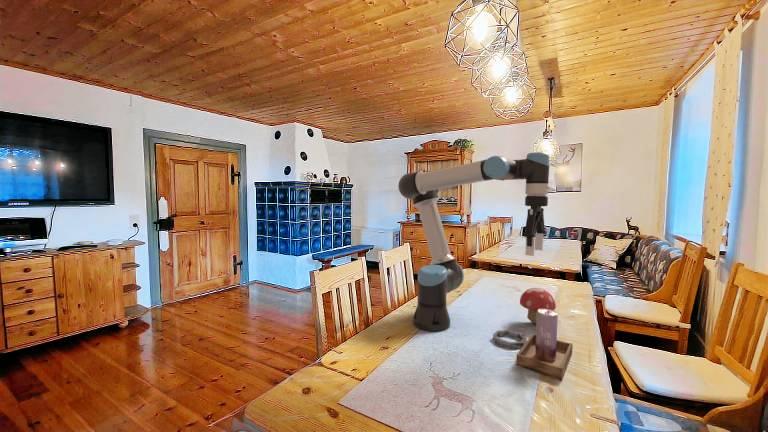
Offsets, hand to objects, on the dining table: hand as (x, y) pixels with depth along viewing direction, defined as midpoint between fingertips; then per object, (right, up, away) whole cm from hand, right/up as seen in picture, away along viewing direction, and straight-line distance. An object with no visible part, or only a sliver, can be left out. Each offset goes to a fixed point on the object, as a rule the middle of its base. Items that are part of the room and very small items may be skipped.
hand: (534, 252), depth 118 cm
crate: (-4, -33, -15) cm, 36 cm away
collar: (-10, -32, -3) cm, 34 cm away
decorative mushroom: (+7, -31, +13) cm, 34 cm away
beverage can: (-4, -32, -15) cm, 36 cm away
